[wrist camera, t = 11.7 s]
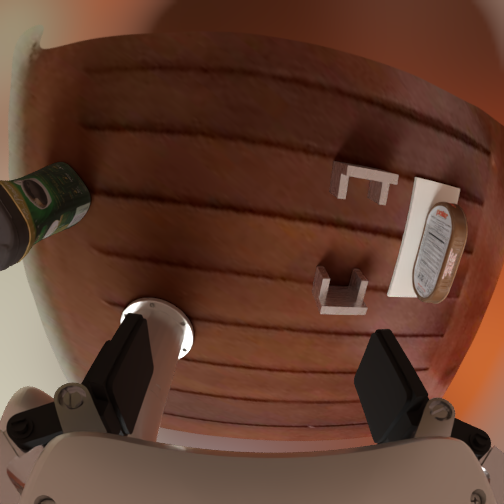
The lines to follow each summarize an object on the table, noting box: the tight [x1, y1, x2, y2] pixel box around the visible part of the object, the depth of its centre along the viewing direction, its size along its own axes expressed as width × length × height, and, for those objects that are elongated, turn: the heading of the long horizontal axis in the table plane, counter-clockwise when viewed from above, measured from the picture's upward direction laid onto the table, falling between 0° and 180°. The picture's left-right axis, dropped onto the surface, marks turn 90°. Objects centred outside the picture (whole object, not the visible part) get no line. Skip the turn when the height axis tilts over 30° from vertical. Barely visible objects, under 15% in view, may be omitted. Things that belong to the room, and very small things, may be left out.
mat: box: [387, 177, 460, 297], centre depth 39 cm, size 19×9×1 cm, turn 175°
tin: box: [412, 202, 468, 304], centre depth 35 cm, size 15×3×8 cm, turn 174°
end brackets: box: [312, 161, 399, 315], centre depth 36 cm, size 7×19×6 cm, turn 175°
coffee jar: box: [0, 162, 91, 271], centre depth 28 cm, size 10×8×19 cm
